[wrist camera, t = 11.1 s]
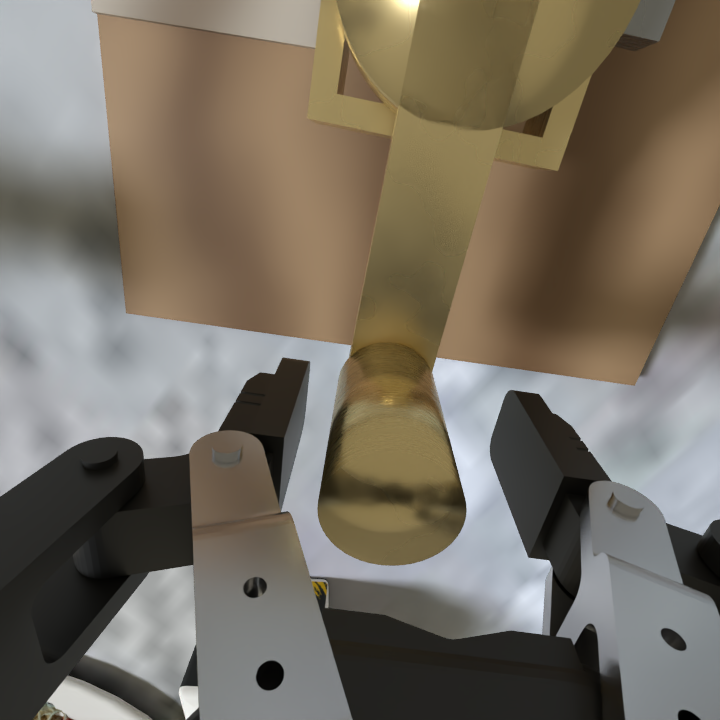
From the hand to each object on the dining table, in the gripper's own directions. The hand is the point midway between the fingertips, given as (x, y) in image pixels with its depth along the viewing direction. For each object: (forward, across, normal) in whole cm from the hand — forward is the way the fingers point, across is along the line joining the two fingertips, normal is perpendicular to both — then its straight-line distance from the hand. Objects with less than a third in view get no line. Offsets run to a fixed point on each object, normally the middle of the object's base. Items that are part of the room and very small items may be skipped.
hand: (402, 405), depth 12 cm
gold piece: (+5, 0, -6) cm, 8 cm away
